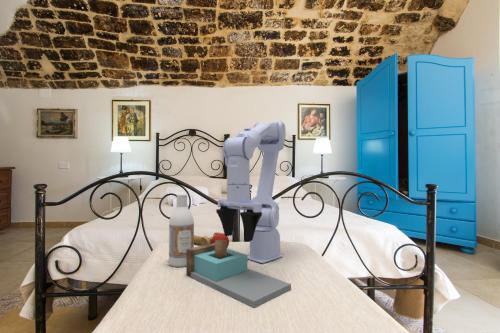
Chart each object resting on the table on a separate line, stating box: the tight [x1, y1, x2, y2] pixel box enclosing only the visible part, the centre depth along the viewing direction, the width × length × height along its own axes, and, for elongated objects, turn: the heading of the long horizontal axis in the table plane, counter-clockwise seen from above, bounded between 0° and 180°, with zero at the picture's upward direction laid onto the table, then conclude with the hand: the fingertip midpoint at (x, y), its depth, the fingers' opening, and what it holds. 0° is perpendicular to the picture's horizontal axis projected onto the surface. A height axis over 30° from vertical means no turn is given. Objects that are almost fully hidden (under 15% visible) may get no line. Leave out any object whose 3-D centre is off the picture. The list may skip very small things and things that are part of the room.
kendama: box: [194, 231, 230, 249], centre depth 97 cm, size 8×6×18 cm
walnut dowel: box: [215, 240, 228, 259], centre depth 70 cm, size 3×3×7 cm
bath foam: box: [168, 193, 195, 268], centre depth 80 cm, size 7×7×20 cm
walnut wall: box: [185, 243, 215, 278], centre depth 74 cm, size 12×2×7 cm, turn 135°
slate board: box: [185, 268, 292, 308], centre depth 66 cm, size 12×24×1 cm, turn 45°
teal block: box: [194, 248, 248, 281], centre depth 70 cm, size 10×9×4 cm
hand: (238, 238), depth 70 cm, fingers open, 7 cm apart
